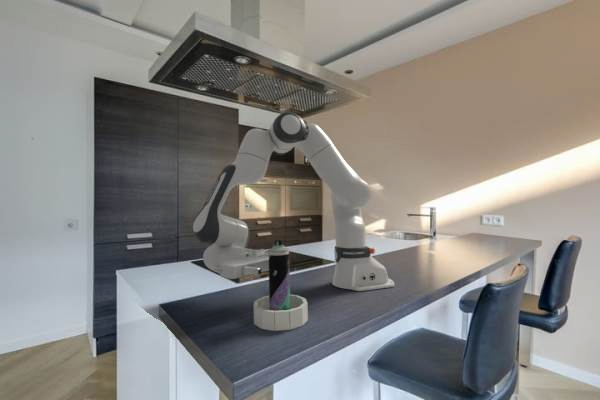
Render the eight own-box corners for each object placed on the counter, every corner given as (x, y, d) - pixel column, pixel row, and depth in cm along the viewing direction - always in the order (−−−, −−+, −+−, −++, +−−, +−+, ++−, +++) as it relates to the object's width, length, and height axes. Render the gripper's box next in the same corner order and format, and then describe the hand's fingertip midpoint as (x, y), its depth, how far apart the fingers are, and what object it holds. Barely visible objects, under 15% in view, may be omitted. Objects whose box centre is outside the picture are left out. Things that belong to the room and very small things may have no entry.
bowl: (303, 308, 87) (303, 292, 87) (310, 328, 73) (310, 309, 73) (255, 311, 85) (254, 295, 85) (253, 332, 71) (252, 313, 71)
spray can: (272, 320, 75) (270, 242, 76) (267, 313, 81) (266, 239, 81) (293, 317, 77) (291, 240, 77) (286, 310, 82) (285, 238, 83)
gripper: (210, 257, 82) (241, 263, 73) (265, 248, 98) (296, 252, 88) (210, 280, 82) (241, 289, 73) (265, 267, 97) (297, 273, 88)
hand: (272, 268), depth 81 cm, fingers open, 8 cm apart
